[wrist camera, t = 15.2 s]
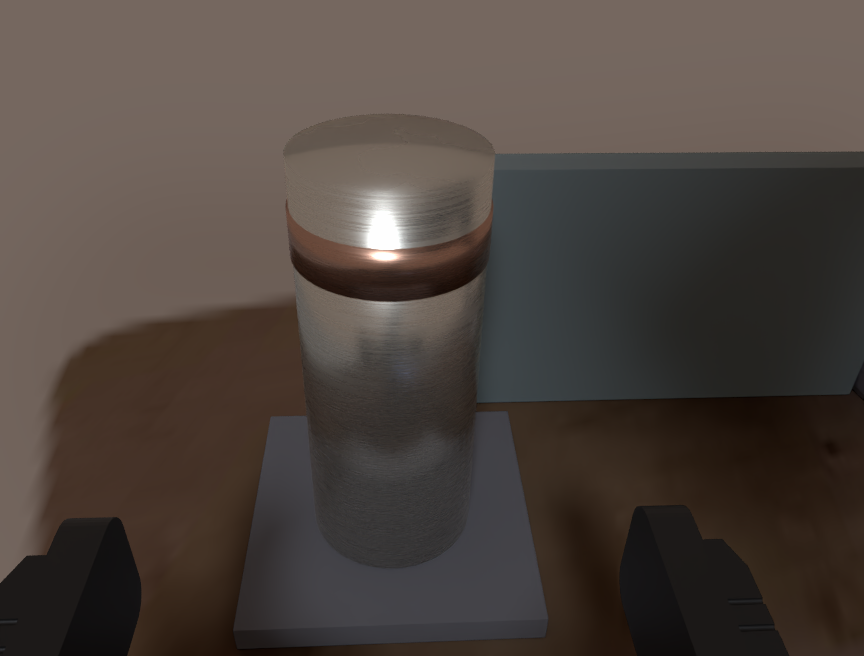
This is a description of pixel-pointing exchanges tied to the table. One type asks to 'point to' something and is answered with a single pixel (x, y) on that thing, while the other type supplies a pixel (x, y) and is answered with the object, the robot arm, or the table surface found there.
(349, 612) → the dark rubber mat
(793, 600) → the table surface
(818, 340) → the slate screen
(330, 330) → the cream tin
